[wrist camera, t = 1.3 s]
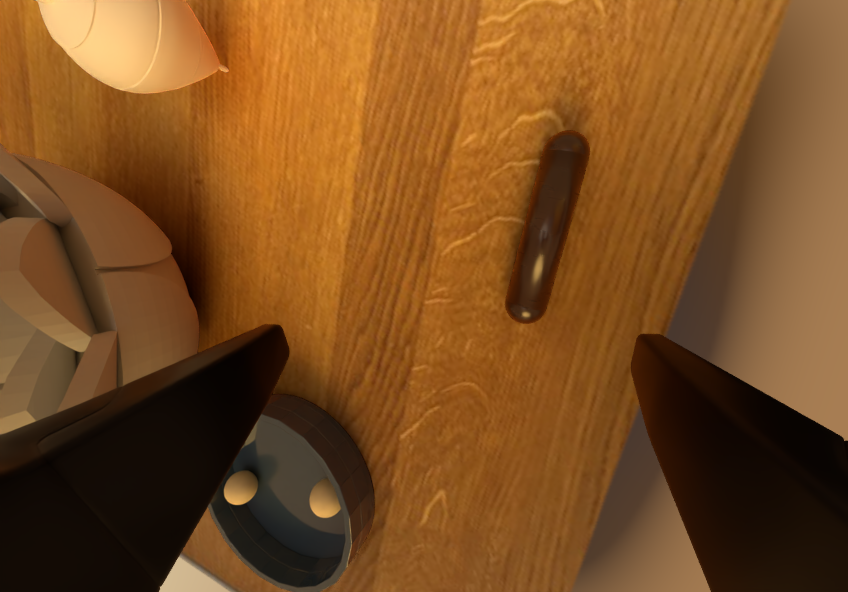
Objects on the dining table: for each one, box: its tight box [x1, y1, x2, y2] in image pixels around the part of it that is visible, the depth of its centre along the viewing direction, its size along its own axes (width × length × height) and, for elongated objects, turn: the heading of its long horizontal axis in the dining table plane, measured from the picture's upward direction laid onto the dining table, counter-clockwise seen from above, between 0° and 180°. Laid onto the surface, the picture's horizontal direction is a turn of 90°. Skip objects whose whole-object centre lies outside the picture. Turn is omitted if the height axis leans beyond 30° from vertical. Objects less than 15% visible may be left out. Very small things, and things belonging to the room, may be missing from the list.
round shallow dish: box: [208, 394, 375, 592], centre depth 31 cm, size 16×16×4 cm
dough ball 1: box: [224, 471, 258, 505], centre depth 33 cm, size 3×3×3 cm
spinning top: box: [35, 0, 229, 94], centre depth 23 cm, size 8×8×12 cm
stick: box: [505, 130, 590, 324], centre depth 20 cm, size 11×2×2 cm, turn 169°
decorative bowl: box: [0, 143, 199, 435], centre depth 29 cm, size 30×30×15 cm
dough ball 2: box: [309, 478, 341, 518], centre depth 29 cm, size 3×3×3 cm
